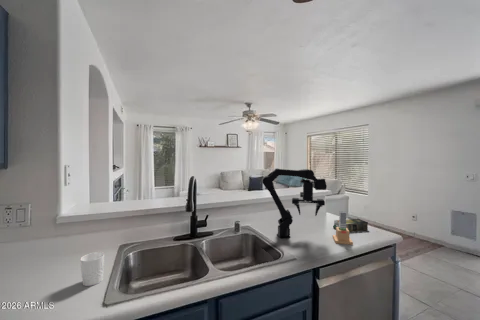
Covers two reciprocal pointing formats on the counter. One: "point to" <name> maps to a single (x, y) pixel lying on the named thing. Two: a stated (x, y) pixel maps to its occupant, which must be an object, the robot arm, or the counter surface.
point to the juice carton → (353, 225)
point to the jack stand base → (342, 237)
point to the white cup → (92, 268)
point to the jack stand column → (342, 220)
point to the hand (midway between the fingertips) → (307, 215)
